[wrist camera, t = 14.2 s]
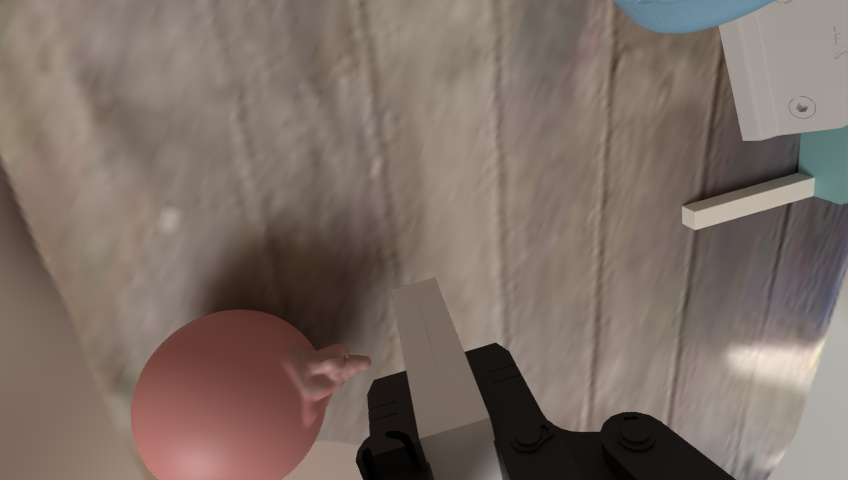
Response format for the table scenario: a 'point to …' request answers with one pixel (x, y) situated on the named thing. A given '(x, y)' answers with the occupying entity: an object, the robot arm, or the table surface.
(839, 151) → the guide bay
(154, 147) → the table surface
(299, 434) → the balloon
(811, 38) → the grey half-round casing
